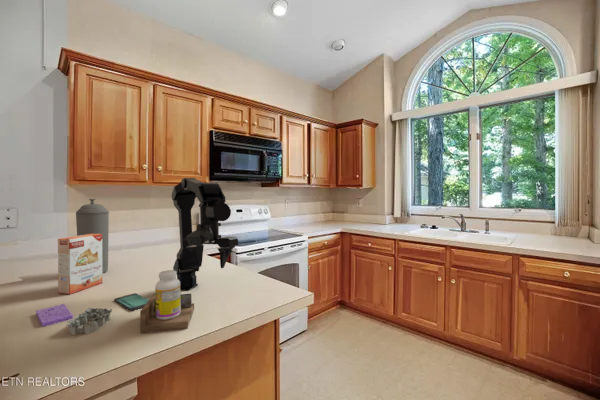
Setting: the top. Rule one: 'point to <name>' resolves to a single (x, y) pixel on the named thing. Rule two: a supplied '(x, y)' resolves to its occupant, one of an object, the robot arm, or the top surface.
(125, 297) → the smartphone
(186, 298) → the gray flat bar
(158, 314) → the supplement bottle
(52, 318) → the sponges
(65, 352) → the top surface
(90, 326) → the egg carton
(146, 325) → the brown piece
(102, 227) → the canister
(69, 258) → the cracker box
